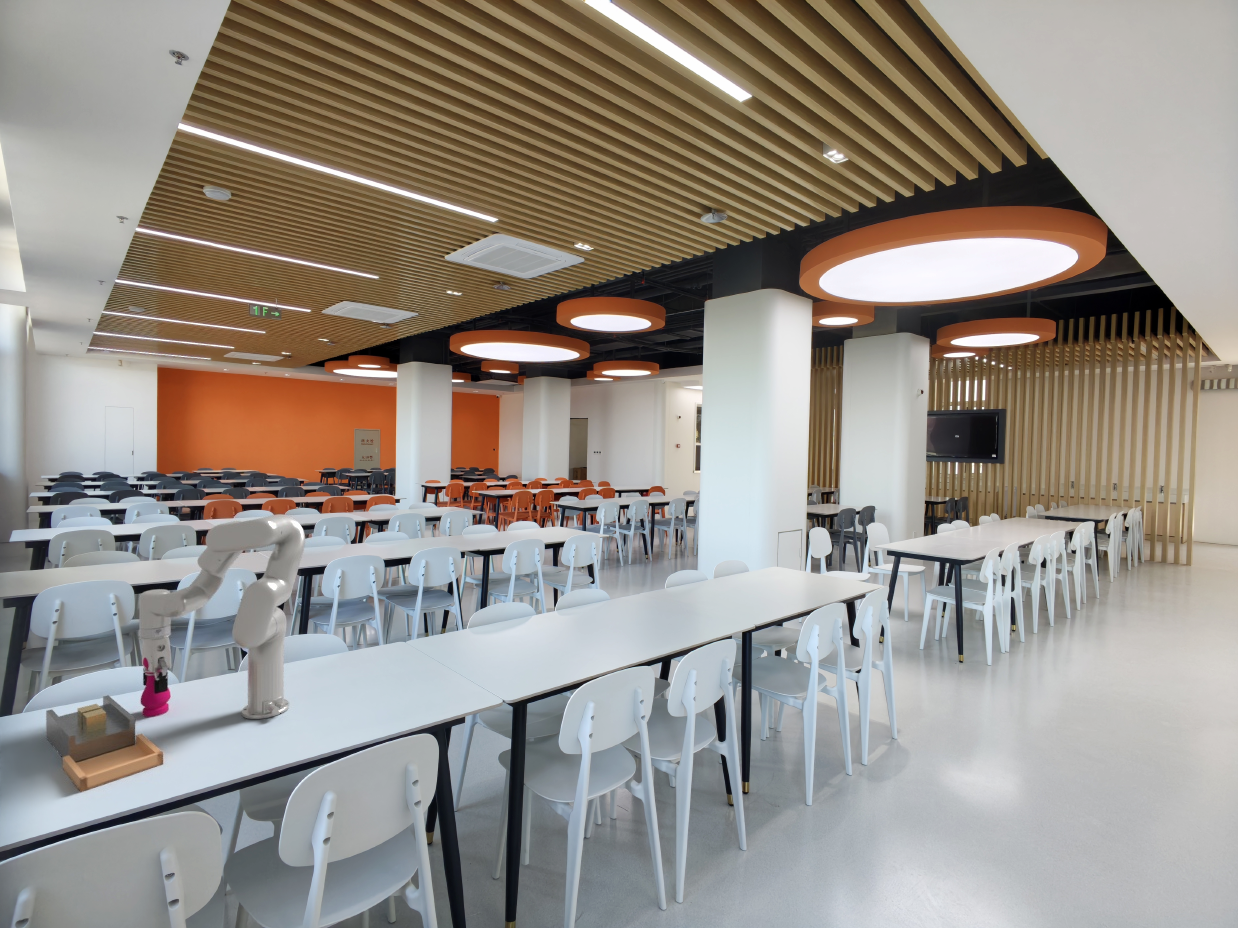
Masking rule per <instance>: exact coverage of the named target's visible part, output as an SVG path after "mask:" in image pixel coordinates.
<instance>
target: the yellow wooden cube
mask: <svg viewBox="0 0 1238 928" xmlns="http://www.w3.org/2000/svg"><path fill="white" fill-rule="evenodd" d="M102 728H106V712H105V711H104V710H103V709H98V710H94V711H90V712H87V713H83V729H84V730H85V731H86V732H87V733H88V732H91V731H95V730H98V729H102Z"/></svg>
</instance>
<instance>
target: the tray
mask: <svg viewBox="0 0 1238 928" xmlns="http://www.w3.org/2000/svg"><path fill="white" fill-rule="evenodd" d="M162 765H164V752H163V751H162V750H161V749H160V748H159V747H157V746H156V745H155V744H154V743H153V742H152V741H151V740H150V739H149V738H148V737H146V736H145V735H144V734H143V733H138V734H135V745H132V746H129V747H126V748H123V749H119V750H116V751H113V752H110V753H107V754H103V755H100V756H97V757H94V758H90V759H87V760H84V761H81V762H77V763H75V762H74V760H73V759H72V758H71V757H70V756H69V755H68V756H65V757H63V758H62V770H63V771H64V772H65V774H66V775H67V777H69V780H71V782H72V783H73V784H74V786H75V787H76V788H77V789H78V790H79V792H80V793H83V792H85V791H88V790H91V789H95V788H97V787H100V786H103V785H106V784H109V783H112V782H114V781H119V780H121V779H124V778H127V777H129V776H132V775H136V774H138V773H141V772H144V771H147V770H149V769H153V768H155V767H159V766H162Z"/></svg>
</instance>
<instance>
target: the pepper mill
mask: <svg viewBox="0 0 1238 928" xmlns="http://www.w3.org/2000/svg"><path fill="white" fill-rule="evenodd" d="M143 665H144V666H143ZM143 665H142V666H143V668H144V667H145V668H146V670H145V672H146V673H145V675H147V683H146V686H144V689H143V691H142V693H141V696H140V705H141V706H143V708H142V716H143V717H147V718H151V717H157V716H161V715H164V714H166V713H167V712H168V711H169V707H170V705H169V703H168V701H170V700H171V691H170V688H169V687H168V690H167V691H165V692H161V693H157V694H155V693H154V680H156V679H155V675H154V673H153V672H150V671H149V670H148V667H149V665H148V661H147V659H146V658H145V657H144V659H143ZM158 669H161V668H158ZM156 670H157V669H156ZM159 673H160V672H158V675H159Z"/></svg>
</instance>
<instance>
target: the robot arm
mask: <svg viewBox="0 0 1238 928" xmlns="http://www.w3.org/2000/svg"><path fill="white" fill-rule="evenodd" d="M205 544H206V548H205V549H204V551H202V553H201V554H200V555H199V557H197V565H198V566H199V568H201V570H200V572H199V574H198V575H197V576H196V578H195V579H193V581H192V582H191V584H190V585H189V586H187V587H184V588H181V589H179V590H175V591H173V592H170V590H168V589H164V588H163V589H162V588H161V589H160V588H159V589H158V588H157V589H150V590H146V591H143V592H142V593H141V594H140V596H139V603H138V604H139V612H138V613H139V614H138V615H139V618H138V619H139V620H138V621H139V626H138V627H139V630H138V631H139V633H138V634H139V640H141V641H142V643H141V644H142V647H141V663H142V666H143V669H142V672H143V673H142V677H143V678H142V684H143V686H144V687H146V683H147V675H145V673H146V672H145V670H146V668H145V667H144V665H143V659H144V657H145V658H146V659H147V661H148V665H149V667H148V670H149V671H150V672H153V673H154V675H155V679H156V680H154V693H155V694H157V693H161V692H165V691H167V690H168V688H169V686H168V684H169V682H168V681H169V675H168V674H169V672H168V671H169V670H170V669H171V668H172V651H171V641H170V636H171V635H172V630H171V629H172V626H171V625H172V619H176V618H180V617H184V616H185V615H188V614H190V613H193V612H195V611H197V610H199V609H201V608H202V607H204V606H205V605H206V604H208V602H209V601H210V600H211V599H212V598H213V597H214V595H215V594H216V593H217V592H218V590H219V589H220V588H221V586H222V584H223V583H224V579H225V577H226V573H227V571H228V570H229V569H230V568H231V566H232V565H233V564H234V562H235V561H236V560H237V559H238V558H239V556H240V555H242V553H243V551H249V550H256V549H263V548H266V547H269V546H272V545H273V546H274V548H273V551H272V552H271V554H270V556H269V558H268V561H267V565H266V567H265V571H264V573H263V575H262V577H261V578H260V579H257V580H255V581H253V582H252V583H250V584H249V585H248V586H247V588H246V589H245V590H244V592H243V594H242V596H241V599H240V603H239V606H238V609H237V612H236V616H235V619H234V623H233V627H232V632H231V633H232V639H233V641H234V643H235V644H236V646H238V647H240V648H241V649H244V650H248V651H247V705H246V706H244V707H243V708H242V709H241V716H242V717H244V718H245V719H249V720H250V719H251V720H259V719H260V720H262V719H267V718H268V719H269V718H273V717H275V716H278V715H280V713H281V714H283V713H284V712H285V711H287V710H288V709H289V708H290V702H289V700H288V699H285V698H284V695H285V694H284V693H285V689H284V687H285V681H284V678H285V676H284V675H285V672H284V671H285V669H284V668H285V667H284V665H285V661H284V660H285V655H284V654H285V641H286V640H285V639H286V633H287V632H286V631H287V624H288V623H287V617H286V614H285V612H284V611H283V610H282V609H281V608H280V607H279V606H281V605H282V604H283V603H285V602H287V601H288V600H289V598H290V597H291V595H292V591H293V589H294V585H295V582H296V577H297V575H298V571H299V567H300V563H301V561H302V557H303V554H304V551H305V546H306V535H305V530H304V528H303V527H302V525H301V523H300V522H299V521H298V520H297V519H295V518H294V517H292V516H290V515H288V514H278V513H277V514H273V515H268V516H264V517H260V518H255V519H250V520H244V521H240V520H232V521H227V522H224V523H220V524H217V525H215V526H213V527H211V528H210V529H209V530H208V532H207V533H206V536H205ZM158 668H161V669H158ZM156 669H157V670H156ZM158 672H160V673H159V675H158Z"/></svg>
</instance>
